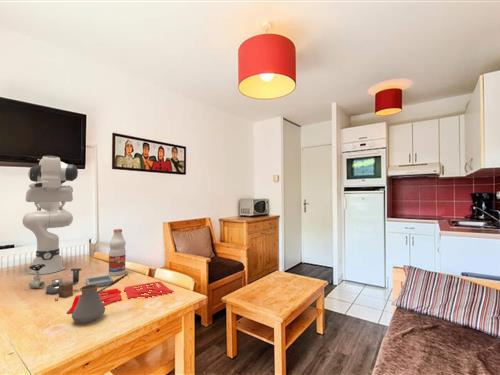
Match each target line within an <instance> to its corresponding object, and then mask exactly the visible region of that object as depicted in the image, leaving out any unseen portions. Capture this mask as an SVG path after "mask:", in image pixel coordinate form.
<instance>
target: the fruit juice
mask: <svg viewBox="0 0 500 375" xmlns="http://www.w3.org/2000/svg"><path fill="white" fill-rule="evenodd" d="M122 232H123V229H121V228H116V229H113V235H112V238H111V240H110V241H109V251H108V275H111V277H116V276H123V275H125V274H126V256H127V255H126V248H125V247H126V240H125V238H124V236H123V233H122Z"/></svg>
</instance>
